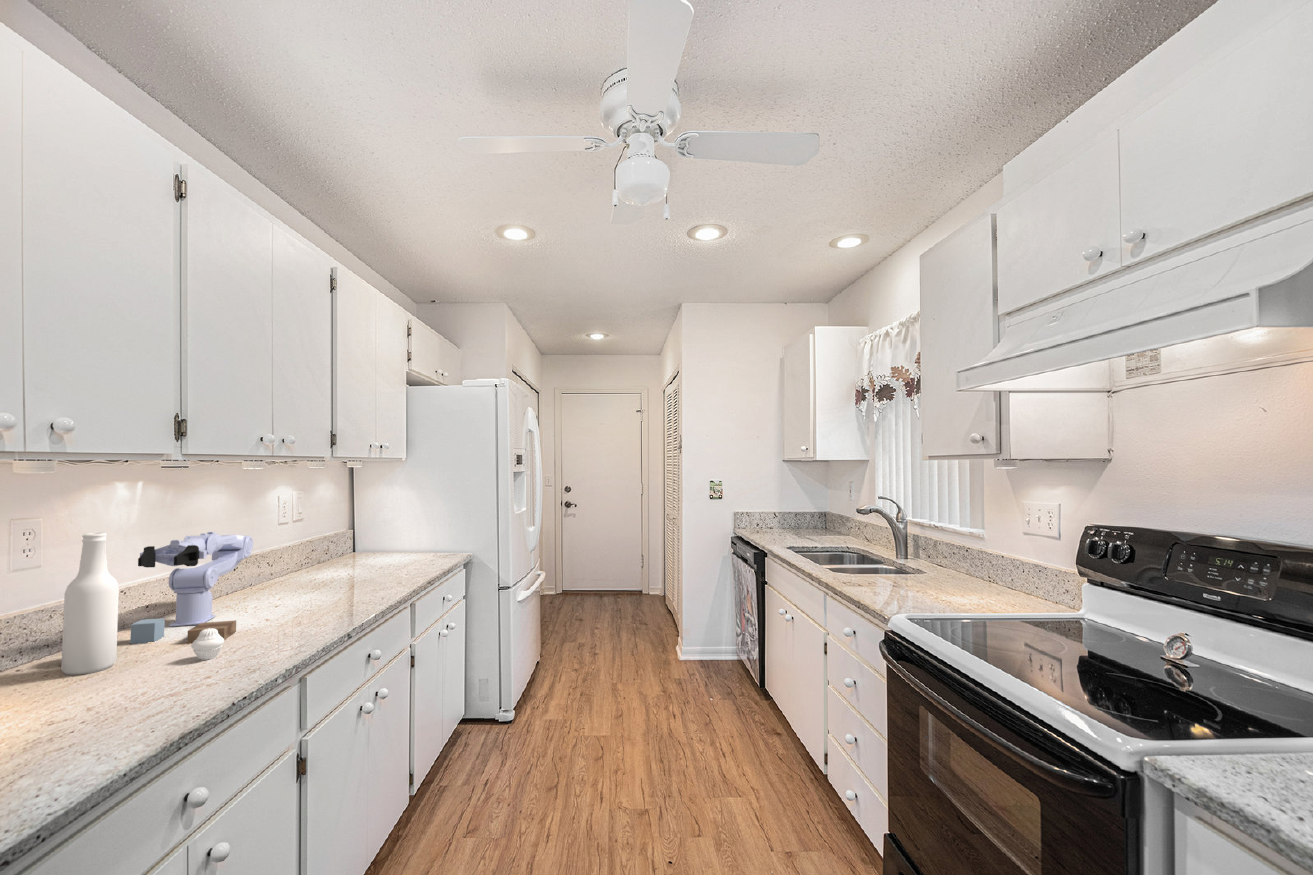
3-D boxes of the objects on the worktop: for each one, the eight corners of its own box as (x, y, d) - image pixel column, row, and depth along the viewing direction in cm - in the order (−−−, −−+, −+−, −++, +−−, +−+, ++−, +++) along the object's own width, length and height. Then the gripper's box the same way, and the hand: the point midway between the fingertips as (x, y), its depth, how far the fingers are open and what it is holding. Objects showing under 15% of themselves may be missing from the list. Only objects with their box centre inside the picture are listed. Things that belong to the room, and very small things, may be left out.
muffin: (230, 654, 141) (231, 624, 141) (207, 663, 135) (208, 632, 135) (208, 653, 142) (208, 623, 142) (184, 661, 136) (185, 631, 136)
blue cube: (141, 639, 154) (141, 619, 154) (163, 637, 155) (164, 618, 155) (130, 644, 149) (131, 624, 149) (154, 642, 150) (154, 623, 151)
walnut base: (200, 636, 157) (201, 622, 157) (235, 633, 160) (236, 620, 160) (187, 644, 150) (187, 630, 150) (224, 641, 152) (224, 628, 152)
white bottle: (124, 665, 133) (130, 532, 135) (74, 678, 125) (80, 536, 126) (102, 660, 137) (107, 530, 138) (52, 673, 128) (58, 534, 130)
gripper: (153, 537, 162) (123, 546, 149) (214, 536, 166) (191, 545, 153) (152, 563, 162) (123, 574, 149) (213, 561, 166) (190, 572, 153)
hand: (157, 561), depth 151 cm, fingers open, 7 cm apart
